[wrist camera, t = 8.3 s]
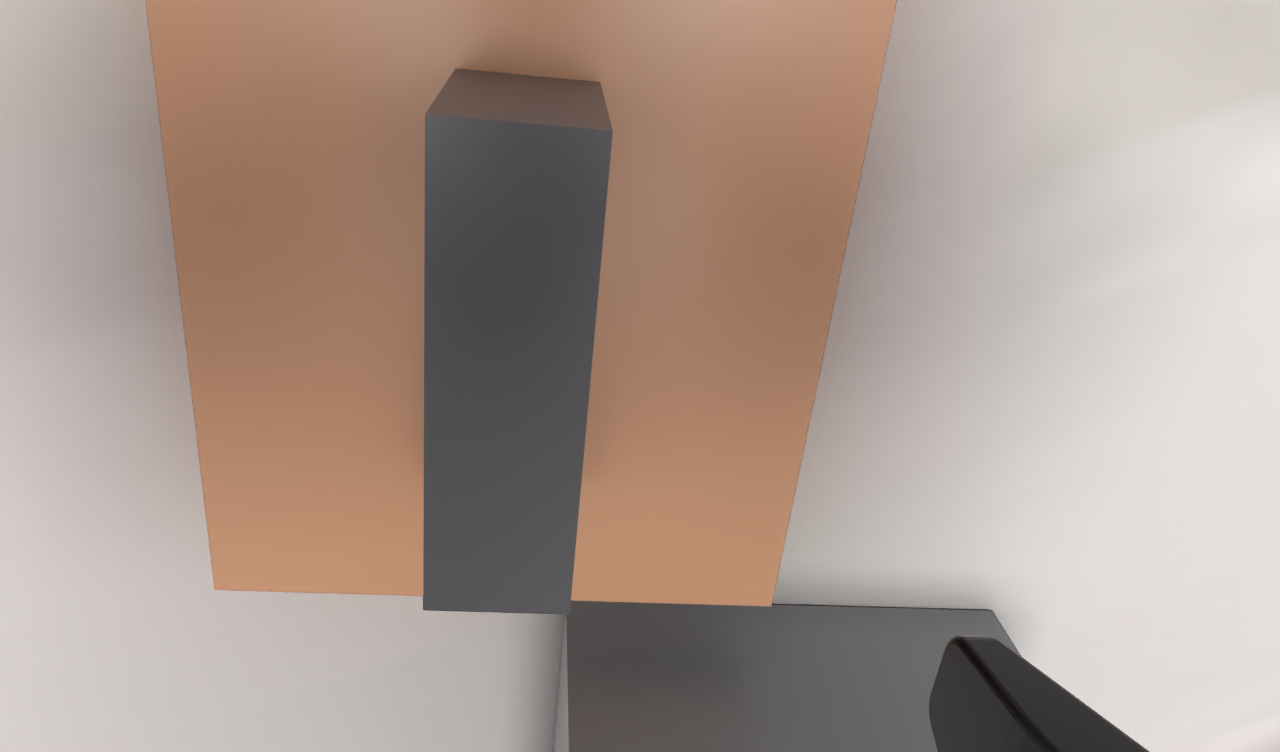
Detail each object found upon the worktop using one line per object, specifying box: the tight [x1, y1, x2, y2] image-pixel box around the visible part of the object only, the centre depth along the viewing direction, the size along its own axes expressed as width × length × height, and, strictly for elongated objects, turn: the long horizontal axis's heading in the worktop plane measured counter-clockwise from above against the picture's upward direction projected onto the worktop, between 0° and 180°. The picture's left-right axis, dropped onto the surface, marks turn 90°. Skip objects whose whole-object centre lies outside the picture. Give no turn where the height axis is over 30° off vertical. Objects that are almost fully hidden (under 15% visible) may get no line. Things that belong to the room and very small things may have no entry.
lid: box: [145, 0, 897, 614], centre depth 17 cm, size 14×12×6 cm
